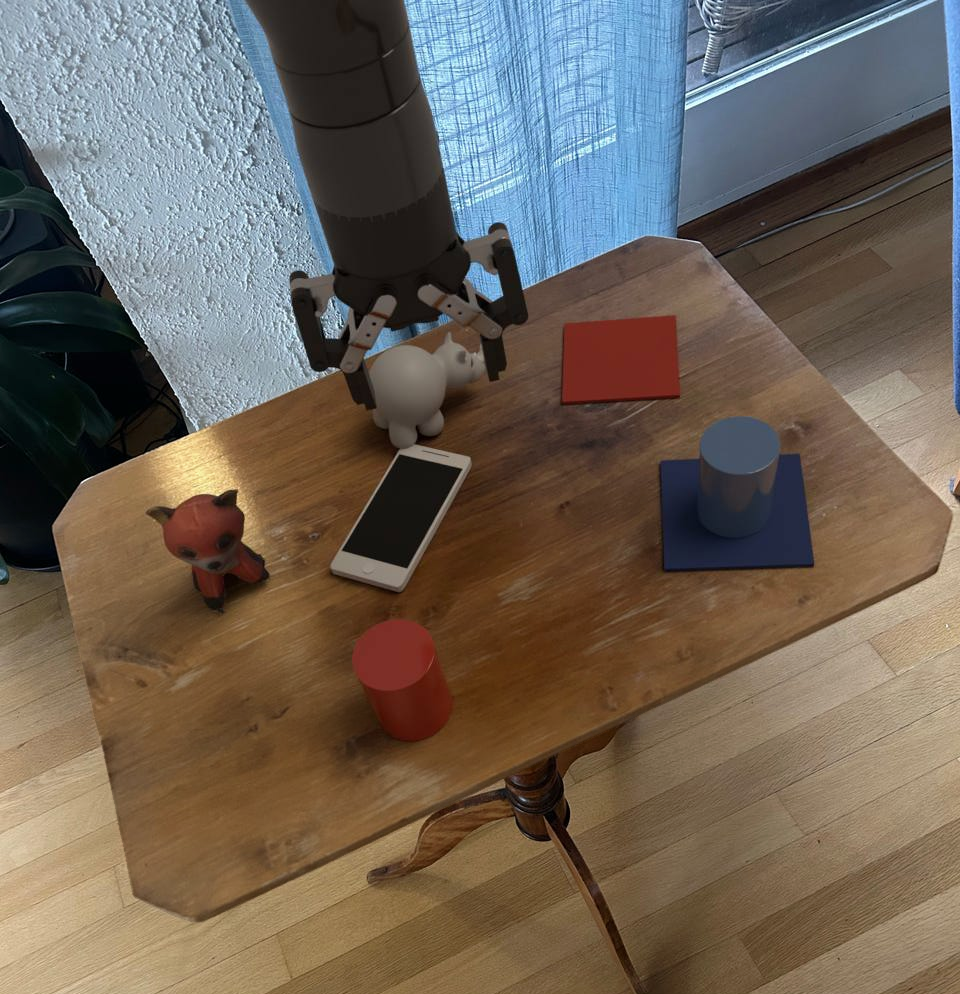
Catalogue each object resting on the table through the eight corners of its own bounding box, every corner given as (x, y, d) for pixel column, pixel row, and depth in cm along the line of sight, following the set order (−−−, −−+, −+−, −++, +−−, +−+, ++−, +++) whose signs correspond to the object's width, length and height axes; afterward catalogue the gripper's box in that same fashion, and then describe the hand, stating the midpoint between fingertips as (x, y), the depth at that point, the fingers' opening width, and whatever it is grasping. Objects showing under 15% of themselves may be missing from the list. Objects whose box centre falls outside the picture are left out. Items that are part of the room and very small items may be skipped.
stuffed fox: (263, 510, 96) (217, 418, 86) (289, 599, 90) (243, 511, 80) (186, 537, 95) (131, 448, 85) (207, 629, 89) (150, 545, 79)
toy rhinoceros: (507, 413, 98) (501, 342, 91) (395, 462, 96) (380, 393, 89) (473, 371, 102) (464, 300, 95) (364, 417, 100) (347, 347, 93)
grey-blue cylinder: (768, 480, 88) (777, 413, 82) (774, 537, 85) (784, 472, 78) (695, 483, 89) (697, 417, 83) (698, 539, 86) (701, 476, 79)
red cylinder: (456, 672, 83) (438, 617, 76) (449, 740, 80) (430, 690, 73) (381, 673, 84) (357, 620, 77) (372, 741, 81) (346, 691, 74)
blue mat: (799, 456, 90) (799, 453, 89) (813, 566, 83) (814, 563, 83) (660, 463, 92) (660, 460, 91) (664, 571, 85) (664, 568, 85)
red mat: (675, 318, 101) (675, 314, 101) (679, 397, 96) (679, 394, 95) (564, 326, 103) (564, 323, 103) (562, 404, 97) (561, 401, 97)
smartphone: (330, 573, 90) (327, 567, 90) (405, 447, 97) (403, 440, 96) (402, 593, 88) (399, 587, 87) (473, 463, 95) (472, 456, 94)
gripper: (252, 241, 55) (335, 450, 68) (512, 177, 54) (544, 401, 68) (247, 162, 59) (326, 374, 72) (489, 103, 58) (523, 327, 72)
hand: (431, 387), depth 70 cm, fingers open, 8 cm apart
